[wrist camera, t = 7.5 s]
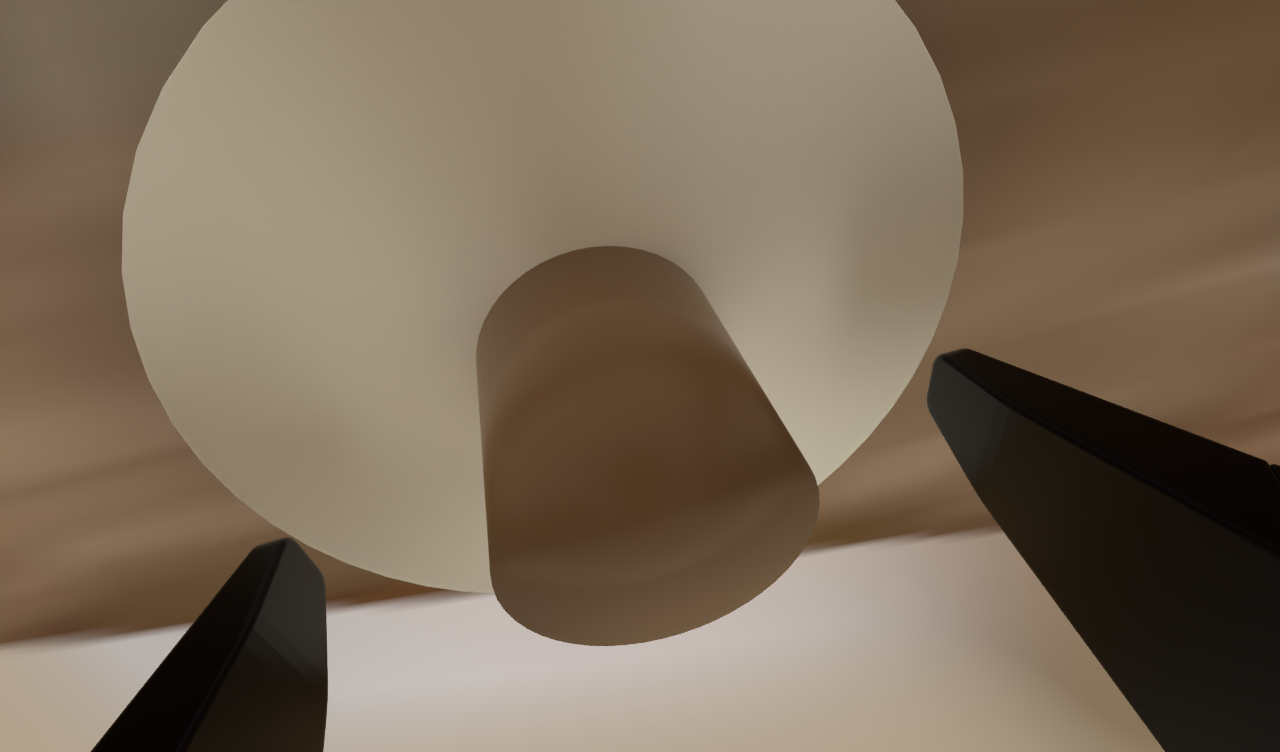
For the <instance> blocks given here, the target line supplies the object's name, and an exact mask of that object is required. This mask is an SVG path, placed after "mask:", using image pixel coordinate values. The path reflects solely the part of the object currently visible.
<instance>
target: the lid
mask: <svg viewBox="0 0 1280 752" xmlns="http://www.w3.org/2000/svg"><path fill="white" fill-rule="evenodd" d="M962 224H963V167H962V161H961V154H960V148H959V142H958V135H957V129H956V123H955V120H954V117H953V114H952V110H951V107H950V104H949V101H948V98H947V95H946V92H945V89H944V86H943V83H942V79H941V76H940V74H939V72H938V70H937V68H936V66H935V64H934V62H933V60H932V58H931V56H930V54H929V53H928V51H927V49H926V47H925V45H924V43H923V41H922V39H921V37H920V35H919V33H918V31H917V29H916V27H915V26H914V25H913V23H912V22H911V21H910V19H909V18H908V17H907V15H906V14H905V13H904V11H903V10H902V9H901V7H900V6H899V5H898V3H897V2H896V1H895V0H227V1H226V2H225V3H224V5H223V6H222V7H221V8H220V9H219V10H218V11H217V12H216V13H215V14H214V15H213V16H212V17H211V18H210V19H209V20H208V21H207V22H206V23H205V24H204V25H203V27H202V28H201V30H200V31H199V33H198V34H197V36H196V37H195V39H194V40H193V42H192V43H191V45H190V46H189V48H188V50H187V51H186V53H185V54H184V56H183V57H182V59H181V60H180V62H179V63H178V65H177V66H176V68H175V69H174V71H173V72H172V74H171V75H170V77H169V78H168V80H167V81H166V83H165V84H164V86H163V88H162V90H161V93H160V95H159V97H158V100H157V102H156V104H155V107H154V109H153V112H152V114H151V116H150V119H149V121H148V124H147V126H146V128H145V131H144V133H143V136H142V138H141V140H140V143H139V145H138V147H137V150H136V154H135V159H134V164H133V168H132V173H131V178H130V182H129V187H128V192H127V197H126V201H125V206H124V211H123V236H122V278H123V285H124V291H125V297H126V303H127V309H128V316H129V322H130V328H131V331H132V334H133V337H134V340H135V343H136V346H137V349H138V352H139V354H140V357H141V360H142V363H143V366H144V369H145V372H146V375H147V378H148V380H149V382H150V384H151V386H152V388H153V389H154V391H155V393H156V395H157V397H158V399H159V400H160V402H161V404H162V406H163V408H164V410H165V411H166V413H167V415H168V417H169V419H170V421H171V423H172V424H173V426H174V427H175V428H176V430H177V431H178V432H179V434H180V435H181V436H182V438H183V439H184V440H185V442H186V443H187V444H188V445H189V447H190V448H191V449H192V451H193V452H194V453H195V455H196V456H197V457H198V459H199V460H200V461H201V463H202V464H203V465H204V466H205V467H206V468H207V469H208V470H209V471H210V472H211V473H212V474H213V475H214V476H215V477H216V478H217V479H218V480H219V481H220V482H221V483H222V484H223V485H224V486H225V487H226V488H227V489H228V490H229V491H230V492H231V493H232V494H233V495H234V496H236V497H237V498H238V499H239V500H241V501H242V502H243V503H245V504H246V505H247V506H249V507H250V508H251V509H253V510H254V511H255V512H256V513H258V514H259V515H260V516H262V517H263V518H264V519H266V520H267V521H268V522H270V523H271V524H272V525H274V526H276V527H277V528H279V529H281V530H283V531H284V532H286V533H288V534H289V535H291V536H293V537H294V538H296V539H298V540H299V541H301V542H303V543H304V544H306V545H308V546H310V547H312V548H314V549H316V550H318V551H321V552H323V553H325V554H327V555H330V556H332V557H334V558H336V559H338V560H341V561H343V562H345V563H347V564H350V565H353V566H356V567H359V568H362V569H365V570H368V571H371V572H374V573H377V574H380V575H383V576H386V577H389V578H393V579H398V580H402V581H406V582H410V583H415V584H419V585H423V586H428V587H435V588H442V589H449V590H456V591H463V592H477V593H495V595H496V597H497V600H498V601H499V603H500V604H501V605H502V607H503V608H504V609H505V611H506V612H507V613H508V614H509V615H510V616H511V617H512V618H513V619H514V620H515V621H517V622H518V623H520V624H522V625H523V626H524V627H526V628H527V629H529V630H531V631H533V632H535V633H538V634H540V635H542V636H545V637H548V638H551V639H555V640H558V641H563V642H567V643H572V644H581V645H590V646H615V645H628V644H635V643H643V642H648V641H653V640H658V639H663V638H667V637H670V636H674V635H677V634H681V633H684V632H687V631H689V630H692V629H695V628H698V627H700V626H703V625H705V624H708V623H710V622H712V621H715V620H717V619H719V618H720V617H723V616H724V615H727V614H729V613H730V612H732V611H734V610H736V609H737V608H739V607H741V606H742V605H744V604H746V603H747V602H749V601H750V600H752V599H753V598H755V597H756V596H757V595H759V594H760V593H762V592H763V591H764V590H765V589H767V588H768V587H769V586H770V585H771V584H773V583H774V582H775V581H776V580H777V579H778V578H779V577H780V576H781V575H782V574H783V573H784V572H785V571H786V570H787V569H788V568H789V567H790V566H791V565H792V563H793V562H794V561H795V560H796V558H797V557H798V556H799V554H800V553H801V551H802V550H803V548H804V547H805V545H806V544H807V542H808V540H809V538H810V536H811V534H812V532H813V529H814V526H815V523H816V520H817V517H818V510H819V489H818V485H819V484H820V483H821V482H822V481H824V480H825V479H826V478H827V477H828V476H829V475H830V474H832V473H833V472H834V471H835V470H836V469H837V468H838V467H840V466H841V465H842V464H843V463H844V462H845V461H846V460H847V459H848V458H849V457H850V456H851V455H852V454H853V452H854V451H855V450H856V449H857V448H858V447H859V446H860V445H861V444H862V443H863V442H864V441H865V440H866V439H867V438H868V437H869V436H870V434H871V433H872V432H873V431H874V429H875V428H876V427H877V426H878V424H879V423H880V422H881V421H882V419H883V418H884V417H885V416H886V414H887V413H888V412H889V411H890V409H891V408H892V407H893V406H894V404H895V403H896V401H897V399H898V398H899V396H900V395H901V393H902V392H903V390H904V389H905V387H906V386H907V384H908V383H909V381H910V380H911V378H912V377H913V375H914V373H915V372H916V370H917V368H918V366H919V364H920V362H921V360H922V358H923V356H924V354H925V352H926V350H927V348H928V346H929V345H930V343H931V341H932V339H933V336H934V334H935V331H936V329H937V326H938V323H939V321H940V318H941V316H942V313H943V310H944V308H945V305H946V303H947V300H948V296H949V292H950V288H951V285H952V281H953V277H954V273H955V269H956V265H957V261H958V255H959V247H960V239H961V232H962Z"/></svg>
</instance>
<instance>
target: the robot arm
mask: <svg viewBox="0 0 1280 752" xmlns="http://www.w3.org/2000/svg"><path fill="white" fill-rule="evenodd" d="M927 405H928V409H929V411H930V414H931V416H932V417H933V419H934V421H935V423H936V424H937V426H938V428H939V429H940V431H941V433H942V435H943V436H944V438H945V440H946V442H947V443H948V445H949V447H950V448H951V450H952V452H953V454H954V455H955V457H956V459H957V461H958V462H959V464H960V466H961V467H962V469H963V471H964V473H965V474H966V476H967V478H968V480H969V481H970V483H971V485H972V487H973V488H974V490H975V491H976V493H977V495H978V496H979V498H980V499H981V501H982V502H983V504H984V505H985V507H986V508H987V510H988V511H989V512H990V514H991V515H992V517H993V518H994V519H995V521H996V522H997V523H998V525H999V526H1000V528H1001V529H1002V530H1003V532H1004V533H1005V534H1006V536H1007V537H1008V538H1009V540H1010V541H1011V542H1012V544H1013V545H1014V547H1015V548H1016V549H1017V551H1018V552H1019V553H1020V555H1021V556H1022V557H1023V559H1024V560H1025V562H1026V563H1027V564H1028V566H1029V567H1030V568H1031V570H1032V571H1033V572H1034V574H1035V575H1036V577H1037V578H1038V579H1039V580H1040V582H1041V583H1042V585H1043V586H1044V587H1045V589H1046V590H1047V591H1048V593H1049V594H1050V596H1051V597H1052V598H1053V600H1054V601H1055V602H1056V604H1057V605H1058V606H1059V608H1060V609H1061V611H1062V612H1063V613H1064V615H1065V616H1066V617H1067V619H1068V620H1069V621H1070V623H1071V624H1072V625H1073V627H1074V628H1075V630H1076V631H1077V632H1078V634H1079V635H1080V636H1081V638H1082V639H1083V640H1084V642H1085V643H1086V645H1087V646H1088V647H1089V649H1090V650H1091V651H1092V653H1093V654H1094V656H1095V657H1096V658H1097V660H1098V661H1099V662H1100V664H1101V665H1102V666H1103V668H1104V669H1105V671H1106V672H1107V673H1108V675H1109V676H1110V677H1111V679H1112V680H1113V681H1114V683H1115V684H1116V685H1117V687H1118V688H1119V690H1120V691H1121V692H1122V694H1123V695H1124V696H1125V698H1126V699H1127V700H1128V702H1129V703H1130V705H1131V706H1132V707H1133V708H1134V710H1135V711H1136V713H1137V714H1138V715H1139V717H1140V718H1141V720H1142V721H1143V722H1144V723H1145V725H1146V726H1147V728H1148V729H1149V730H1150V732H1151V733H1152V734H1153V736H1154V737H1155V739H1156V740H1157V741H1158V742H1159V744H1160V745H1161V747H1162V748H1163V749H1164V751H1165V752H1280V466H1279V465H1276V464H1272V465H1269V464H1268V463H1267V462H1266V461H1265V460H1262V459H1259V458H1257V457H1254V456H1252V455H1249V454H1246V453H1244V452H1241V451H1238V450H1236V449H1233V448H1230V447H1228V446H1225V445H1222V444H1220V443H1217V442H1214V441H1212V440H1209V439H1206V438H1204V437H1201V436H1199V435H1196V434H1193V433H1191V432H1188V431H1185V430H1183V429H1180V428H1177V427H1175V426H1172V425H1169V424H1167V423H1164V422H1161V421H1159V420H1156V419H1154V418H1151V417H1148V416H1146V415H1143V414H1140V413H1138V412H1135V411H1132V410H1130V409H1127V408H1124V407H1122V406H1119V405H1116V404H1114V403H1111V402H1108V401H1106V400H1103V399H1101V398H1098V397H1095V396H1093V395H1090V394H1087V393H1085V392H1082V391H1079V390H1077V389H1074V388H1071V387H1069V386H1066V385H1063V384H1061V383H1058V382H1055V381H1053V380H1050V379H1048V378H1045V377H1042V376H1040V375H1037V374H1034V373H1032V372H1029V371H1026V370H1024V369H1021V368H1018V367H1016V366H1013V365H1010V364H1008V363H1005V362H1002V361H1000V360H997V359H995V358H992V357H989V356H987V355H984V354H981V353H979V352H976V351H973V350H970V349H965V348H964V349H958V350H954V351H951V352H947V353H944V354H940V355H939V356H937V358H936V359H935V360H934V363H933V367H932V373H931V378H930V383H929V388H928V393H927ZM327 700H328V670H327V630H326V589H325V581H324V578H323V575H322V573H321V571H320V570H319V568H318V567H317V566H316V565H315V564H314V562H313V561H312V560H311V559H310V558H309V556H308V555H307V554H306V553H305V551H304V550H303V549H302V548H301V547H300V545H299V544H298V543H297V542H296V541H295V540H294V539H291V538H289V537H287V538H281V539H277V540H274V541H270V542H266V543H263V544H260V545H258V546H256V547H255V548H254V549H253V550H252V551H251V552H250V553H249V554H248V555H247V557H246V558H245V559H244V560H243V562H242V563H241V564H240V565H239V567H238V568H237V569H236V570H235V572H234V573H233V574H232V575H231V577H230V578H229V579H228V580H227V582H226V583H225V584H224V585H223V587H222V588H221V589H220V590H219V592H218V593H217V594H216V595H215V597H214V598H213V599H212V600H211V602H210V603H209V604H208V605H207V607H206V608H205V609H204V610H203V612H202V613H201V614H200V615H199V617H198V618H197V619H196V620H195V622H194V623H193V624H192V625H191V627H190V628H189V629H188V630H187V632H186V633H185V634H184V635H183V637H182V638H181V639H180V640H179V642H178V643H177V645H175V647H174V648H173V649H172V651H171V652H170V653H169V654H168V656H167V657H166V658H165V659H164V660H163V662H162V663H161V664H160V665H159V667H158V668H157V669H156V671H155V672H154V673H153V674H152V676H151V677H150V678H149V679H148V681H147V682H146V683H145V684H144V686H143V687H142V688H141V689H140V691H139V692H138V693H137V694H136V696H135V697H134V698H133V699H132V701H131V702H130V703H129V704H128V706H127V707H126V708H125V709H124V711H123V712H122V713H121V714H120V716H119V717H118V718H117V720H116V721H115V722H114V723H113V724H112V726H111V727H110V728H109V729H108V731H107V732H106V733H105V734H104V736H103V737H102V738H101V739H100V741H99V742H98V743H97V744H96V746H95V747H94V748H93V749H92V751H91V752H323V748H324V738H325V727H326V715H327Z"/></svg>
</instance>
